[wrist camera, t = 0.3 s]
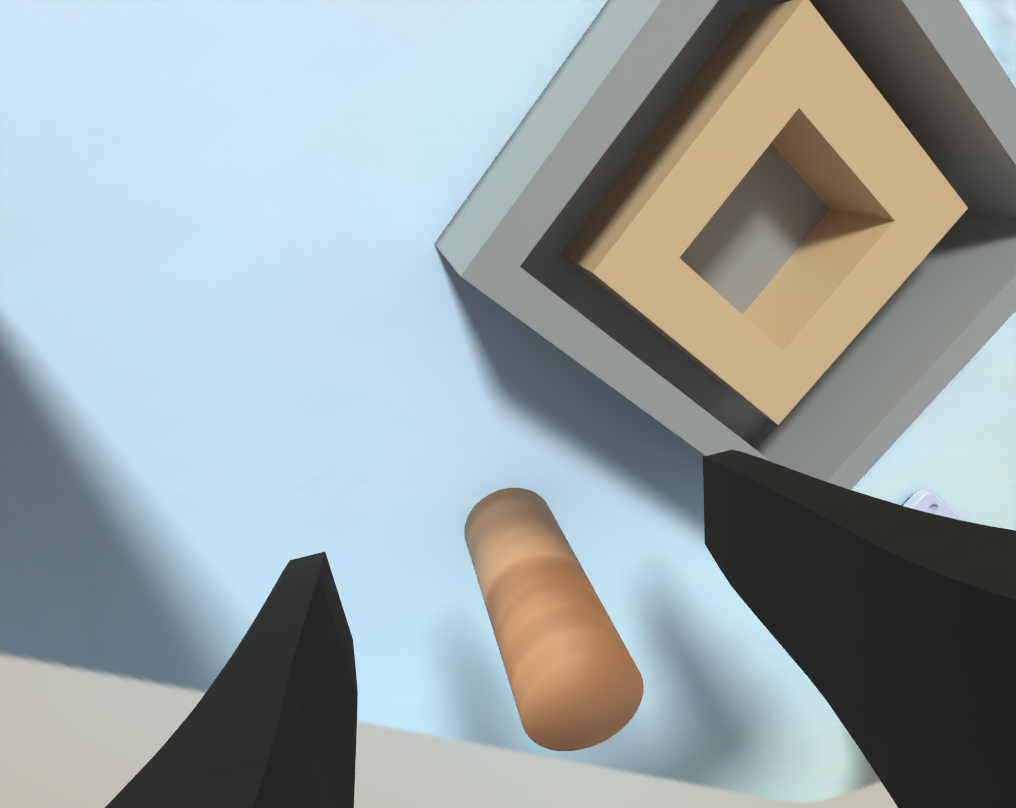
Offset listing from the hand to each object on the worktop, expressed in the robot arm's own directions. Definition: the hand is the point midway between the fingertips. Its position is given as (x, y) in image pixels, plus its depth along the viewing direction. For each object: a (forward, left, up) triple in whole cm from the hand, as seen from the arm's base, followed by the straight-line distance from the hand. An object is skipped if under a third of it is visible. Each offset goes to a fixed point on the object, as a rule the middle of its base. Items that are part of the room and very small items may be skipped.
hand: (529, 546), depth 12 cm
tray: (-4, -9, -10) cm, 14 cm away
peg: (-5, +4, -10) cm, 12 cm away
